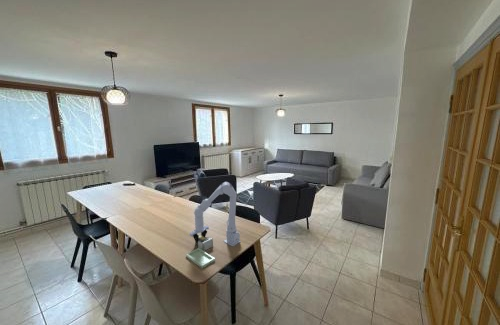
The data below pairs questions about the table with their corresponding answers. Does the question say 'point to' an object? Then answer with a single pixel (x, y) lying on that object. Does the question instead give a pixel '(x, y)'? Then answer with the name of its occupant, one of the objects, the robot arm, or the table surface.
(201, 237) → the grey block yellow label
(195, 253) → the tray
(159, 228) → the table surface
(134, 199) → the table surface
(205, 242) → the bay
